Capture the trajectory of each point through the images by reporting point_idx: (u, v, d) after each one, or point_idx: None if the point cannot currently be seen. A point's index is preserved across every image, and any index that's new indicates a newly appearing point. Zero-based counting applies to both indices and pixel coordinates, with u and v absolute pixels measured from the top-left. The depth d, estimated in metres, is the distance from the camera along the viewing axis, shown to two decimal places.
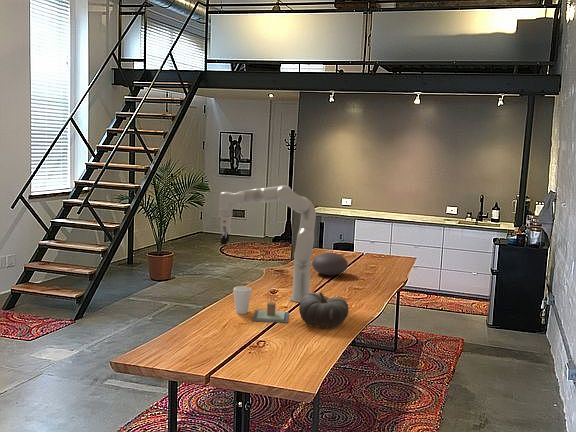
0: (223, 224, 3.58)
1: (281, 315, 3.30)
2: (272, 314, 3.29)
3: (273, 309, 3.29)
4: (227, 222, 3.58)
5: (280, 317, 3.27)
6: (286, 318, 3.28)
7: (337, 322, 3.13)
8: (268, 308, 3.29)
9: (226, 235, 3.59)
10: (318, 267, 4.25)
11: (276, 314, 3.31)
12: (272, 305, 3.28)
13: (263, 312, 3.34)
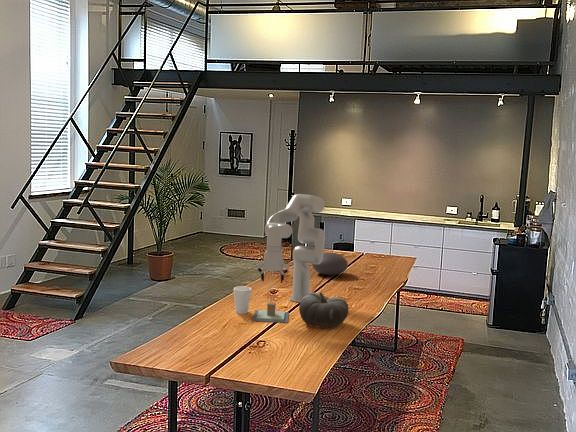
0: (282, 260, 3.26)
1: (281, 315, 3.30)
2: (272, 314, 3.29)
3: (273, 309, 3.29)
4: None
5: (280, 317, 3.27)
6: (286, 318, 3.28)
7: (337, 322, 3.13)
8: (268, 308, 3.29)
9: (282, 271, 3.29)
10: (318, 267, 4.25)
11: (276, 314, 3.31)
12: (272, 305, 3.28)
13: (263, 312, 3.34)
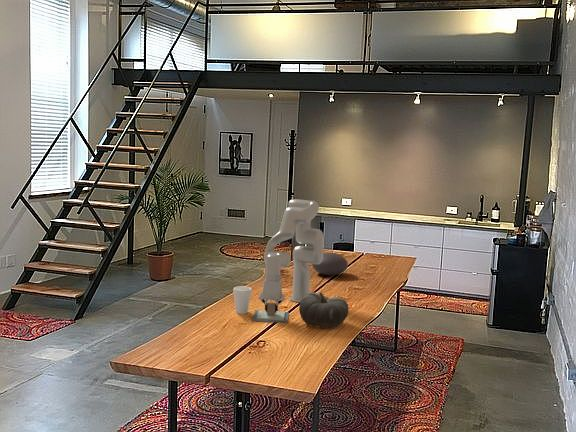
0: (281, 289, 3.29)
1: (281, 315, 3.30)
2: (272, 314, 3.29)
3: (273, 309, 3.29)
4: None
5: (280, 317, 3.27)
6: (286, 318, 3.28)
7: (337, 322, 3.13)
8: (268, 308, 3.29)
9: None
10: (318, 267, 4.25)
11: (276, 314, 3.31)
12: (272, 305, 3.28)
13: (263, 312, 3.34)
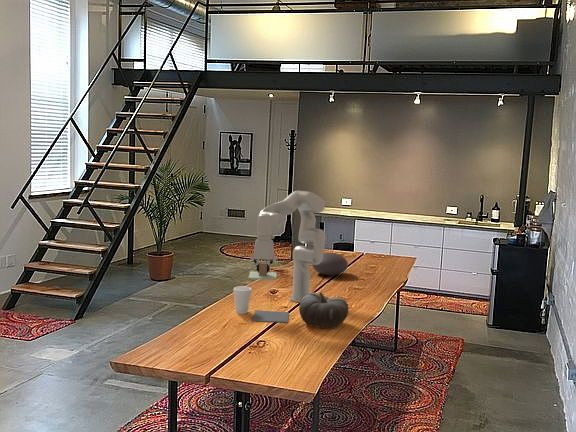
0: (273, 249, 3.28)
1: (272, 275, 3.29)
2: (264, 274, 3.28)
3: (265, 269, 3.28)
4: None
5: (272, 277, 3.26)
6: (286, 318, 3.28)
7: (337, 322, 3.13)
8: (260, 268, 3.28)
9: None
10: (318, 267, 4.25)
11: (268, 275, 3.31)
12: (264, 265, 3.28)
13: (255, 273, 3.33)
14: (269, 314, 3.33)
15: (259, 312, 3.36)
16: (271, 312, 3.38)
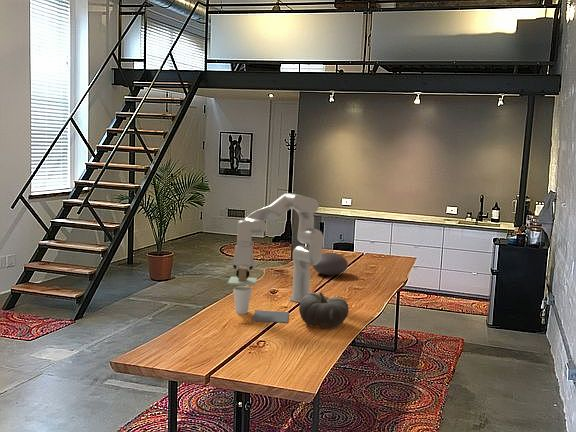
0: (252, 254, 3.33)
1: (252, 281, 3.34)
2: (243, 279, 3.33)
3: (244, 274, 3.33)
4: None
5: (251, 282, 3.31)
6: (286, 318, 3.28)
7: (337, 322, 3.13)
8: (239, 273, 3.33)
9: None
10: (318, 267, 4.25)
11: (247, 280, 3.35)
12: (243, 270, 3.32)
13: (235, 278, 3.38)
14: (269, 314, 3.33)
15: (259, 312, 3.36)
16: (271, 312, 3.38)
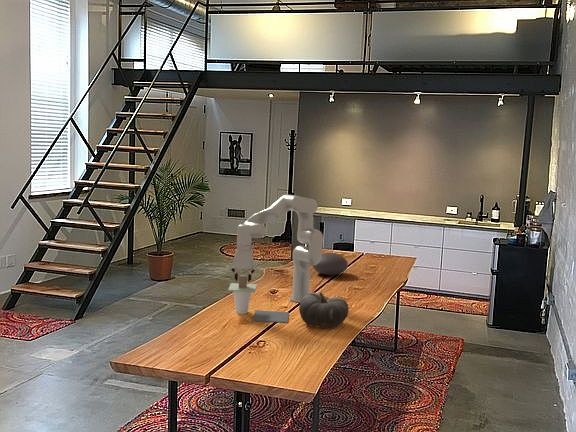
0: (252, 258, 3.33)
1: (252, 287, 3.35)
2: (243, 286, 3.34)
3: (244, 281, 3.33)
4: None
5: (251, 289, 3.31)
6: (286, 318, 3.28)
7: (337, 322, 3.13)
8: (239, 280, 3.33)
9: None
10: (318, 267, 4.25)
11: (247, 287, 3.36)
12: (243, 277, 3.33)
13: (235, 285, 3.39)
14: (269, 314, 3.33)
15: (259, 312, 3.36)
16: (271, 312, 3.38)
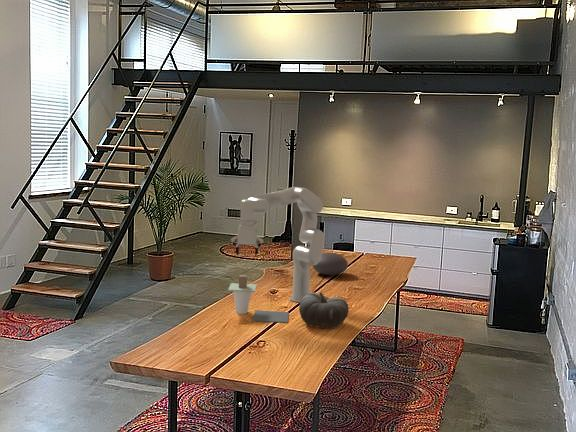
0: (256, 234, 3.34)
1: (252, 287, 3.35)
2: (243, 286, 3.34)
3: (244, 281, 3.33)
4: None
5: (251, 289, 3.31)
6: (286, 318, 3.28)
7: (337, 322, 3.13)
8: (239, 280, 3.33)
9: None
10: (318, 267, 4.25)
11: (247, 287, 3.36)
12: (243, 277, 3.33)
13: (235, 285, 3.39)
14: (269, 314, 3.33)
15: (259, 312, 3.36)
16: (271, 312, 3.38)
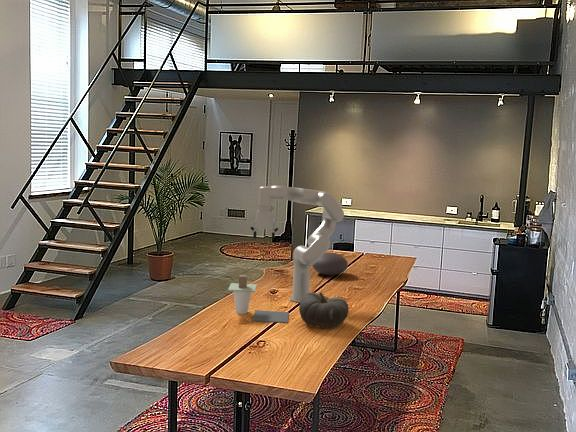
0: (273, 219, 3.51)
1: (252, 287, 3.35)
2: (243, 286, 3.34)
3: (244, 281, 3.33)
4: None
5: (251, 289, 3.31)
6: (286, 318, 3.28)
7: (337, 322, 3.13)
8: (239, 280, 3.33)
9: None
10: (318, 267, 4.25)
11: (247, 287, 3.36)
12: (243, 277, 3.33)
13: (235, 285, 3.39)
14: (269, 314, 3.33)
15: (259, 312, 3.36)
16: (271, 312, 3.38)
